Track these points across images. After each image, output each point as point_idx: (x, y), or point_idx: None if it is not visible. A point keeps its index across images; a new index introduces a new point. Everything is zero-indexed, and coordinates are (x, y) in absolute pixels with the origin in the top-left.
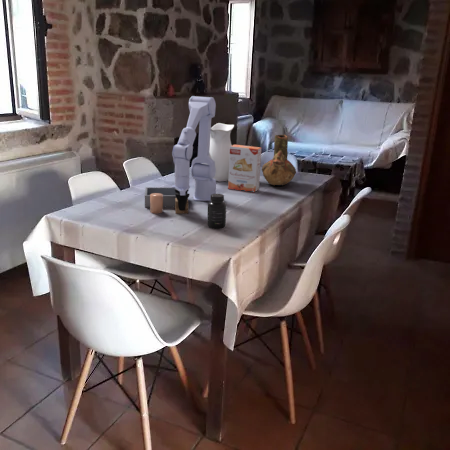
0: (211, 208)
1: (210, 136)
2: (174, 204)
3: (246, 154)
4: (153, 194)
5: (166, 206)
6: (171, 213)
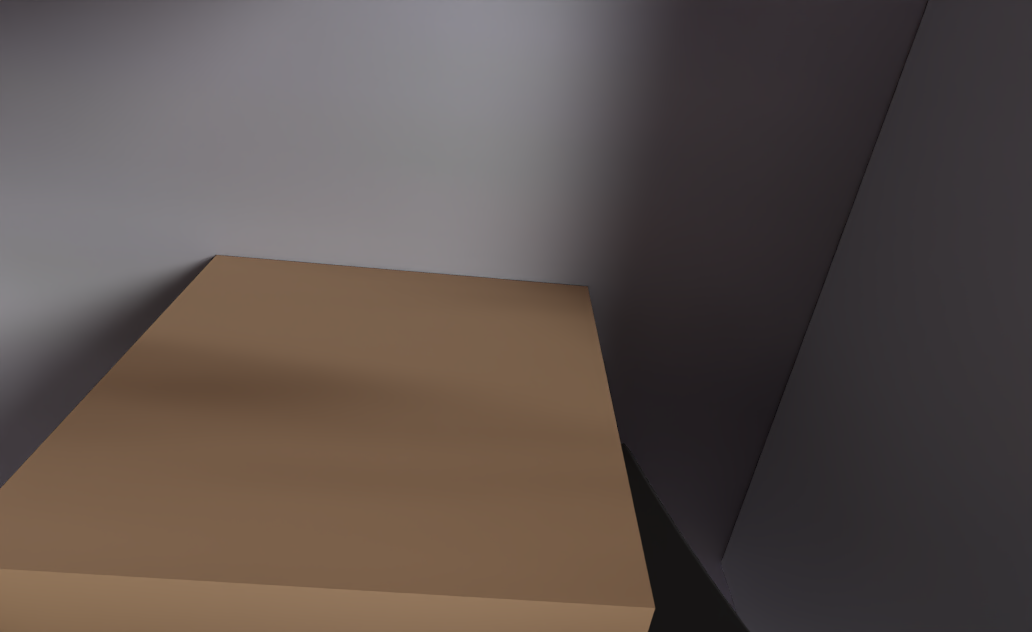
0: None
1: None
2: (863, 342)
3: None
4: None
5: (939, 42)
6: (210, 133)
